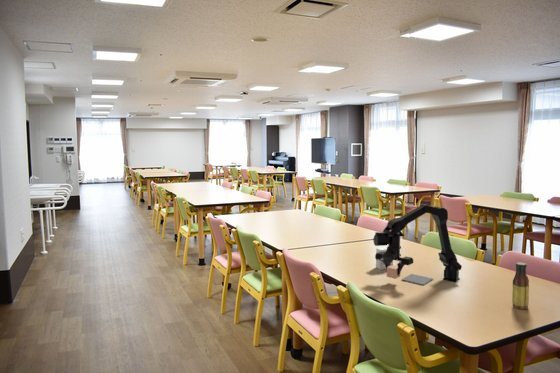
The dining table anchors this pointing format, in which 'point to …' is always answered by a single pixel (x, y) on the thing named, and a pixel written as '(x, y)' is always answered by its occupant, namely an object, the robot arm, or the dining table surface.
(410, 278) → the charcoal mat
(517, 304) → the sauce bottle
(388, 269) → the terracotta cube
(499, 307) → the dining table surface
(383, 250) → the ink box
